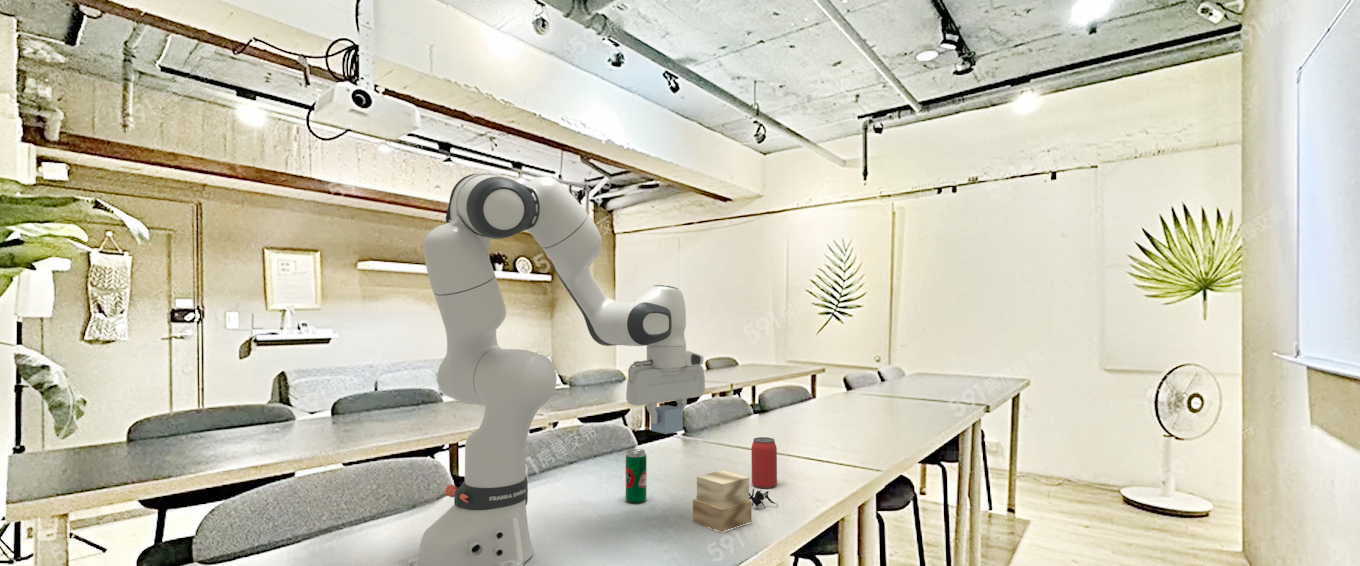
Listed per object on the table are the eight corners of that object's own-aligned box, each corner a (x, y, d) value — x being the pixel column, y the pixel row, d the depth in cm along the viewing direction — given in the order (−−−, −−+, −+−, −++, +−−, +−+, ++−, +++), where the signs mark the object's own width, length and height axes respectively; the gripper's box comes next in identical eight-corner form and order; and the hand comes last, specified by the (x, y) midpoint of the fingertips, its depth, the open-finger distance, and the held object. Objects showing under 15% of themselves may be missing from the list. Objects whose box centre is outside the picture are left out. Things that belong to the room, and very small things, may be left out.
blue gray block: (665, 434, 133) (665, 410, 133) (650, 430, 137) (650, 407, 137) (682, 430, 136) (682, 408, 137) (668, 427, 140) (667, 405, 140)
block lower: (721, 534, 128) (721, 509, 128) (692, 522, 135) (692, 499, 135) (751, 524, 134) (751, 500, 134) (722, 513, 140) (722, 491, 141)
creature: (750, 504, 150) (738, 506, 143) (752, 481, 151) (739, 481, 145) (781, 509, 147) (770, 511, 140) (782, 485, 148) (771, 486, 141)
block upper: (722, 508, 129) (722, 484, 129) (696, 499, 135) (696, 476, 135) (748, 500, 134) (748, 477, 134) (722, 492, 140) (722, 470, 140)
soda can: (643, 504, 146) (643, 453, 147) (623, 503, 147) (623, 452, 148) (648, 498, 151) (648, 448, 152) (628, 497, 152) (628, 448, 153)
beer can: (747, 483, 163) (746, 438, 164) (768, 480, 166) (767, 435, 167) (760, 490, 157) (760, 443, 158) (782, 487, 160) (781, 440, 161)
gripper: (637, 362, 128) (638, 430, 127) (708, 356, 141) (709, 416, 141) (620, 360, 133) (620, 425, 132) (690, 354, 146) (690, 413, 146)
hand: (667, 421), depth 137 cm, fingers closed on blue gray block, 5 cm apart
